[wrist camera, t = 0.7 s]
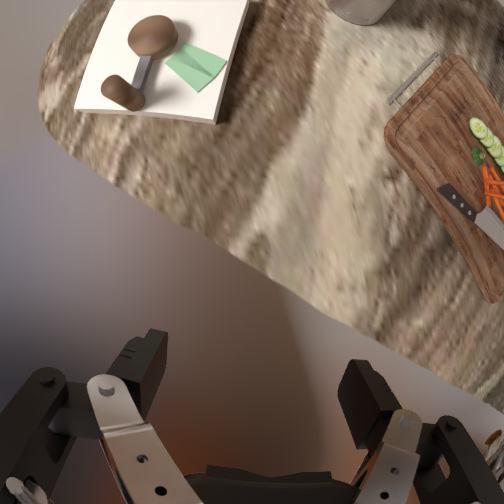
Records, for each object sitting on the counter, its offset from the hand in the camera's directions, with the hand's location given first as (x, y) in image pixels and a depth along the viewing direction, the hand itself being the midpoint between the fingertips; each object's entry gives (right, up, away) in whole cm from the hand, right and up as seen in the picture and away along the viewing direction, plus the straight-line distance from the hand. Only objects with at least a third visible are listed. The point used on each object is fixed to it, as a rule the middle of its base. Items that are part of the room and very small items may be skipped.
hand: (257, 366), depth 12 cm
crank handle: (-13, +28, +17) cm, 35 cm away
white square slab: (-12, +32, +20) cm, 40 cm away
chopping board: (+40, +17, +25) cm, 50 cm away
